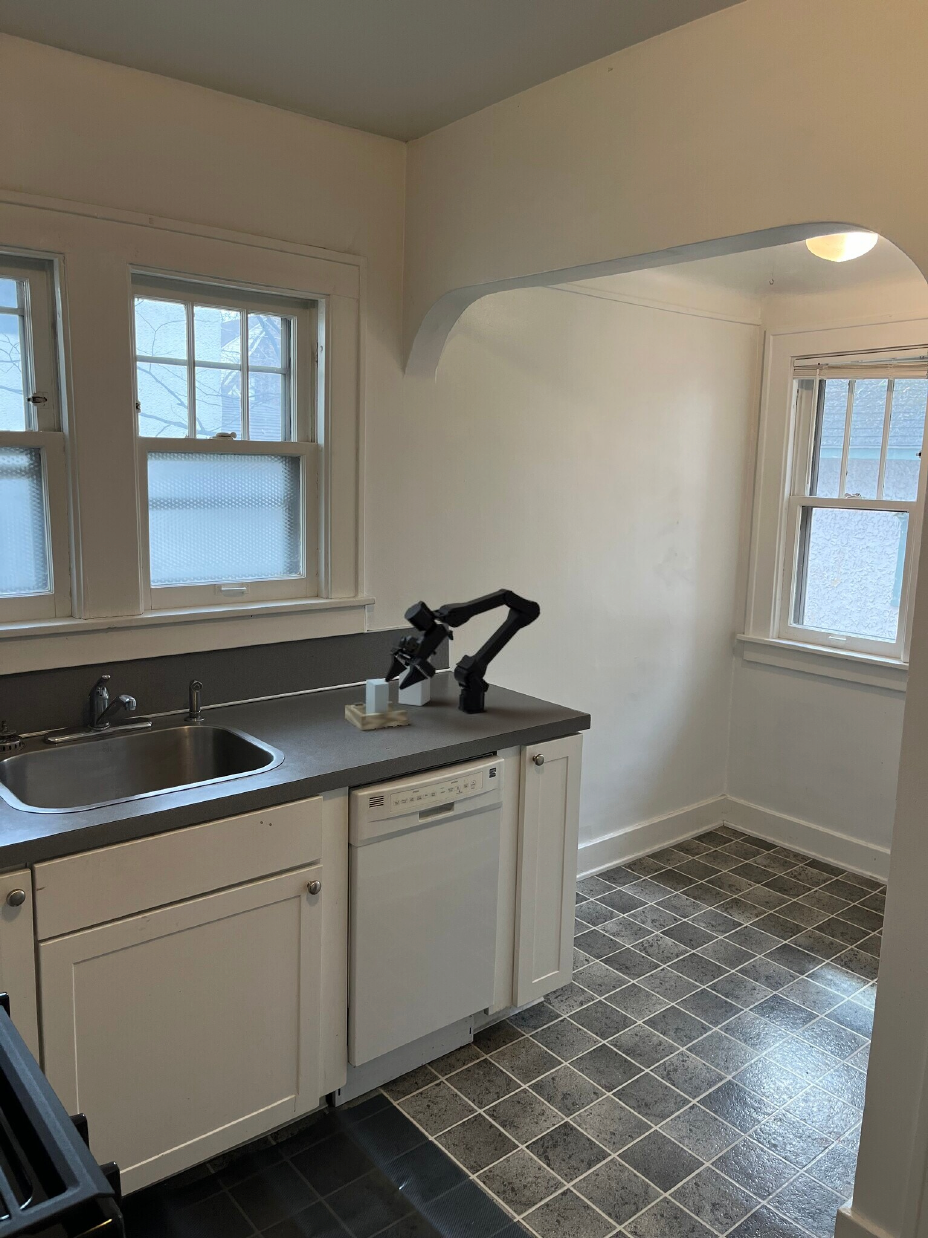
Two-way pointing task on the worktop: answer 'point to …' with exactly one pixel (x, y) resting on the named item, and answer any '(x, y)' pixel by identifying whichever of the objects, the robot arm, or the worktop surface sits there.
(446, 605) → the robot arm
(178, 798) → the worktop surface
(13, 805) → the worktop surface
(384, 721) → the wooden tray
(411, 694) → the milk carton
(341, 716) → the worktop surface
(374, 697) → the pale blue box
